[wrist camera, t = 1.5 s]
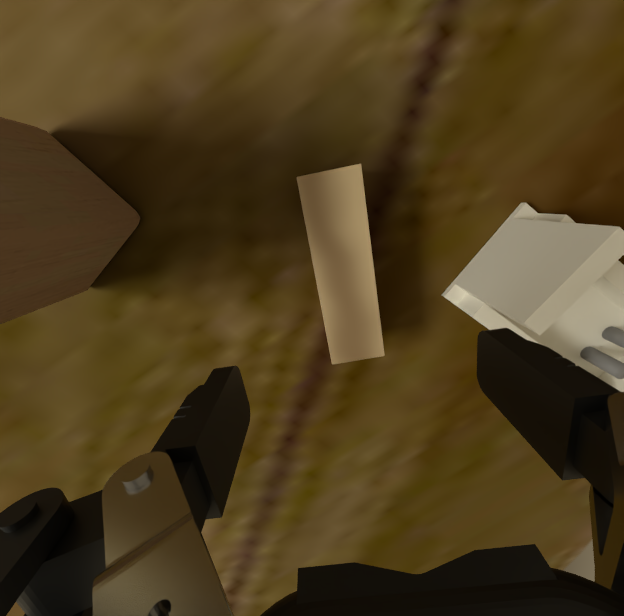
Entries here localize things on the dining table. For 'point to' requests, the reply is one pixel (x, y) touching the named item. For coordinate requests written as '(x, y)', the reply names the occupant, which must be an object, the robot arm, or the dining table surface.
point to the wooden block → (52, 221)
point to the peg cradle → (552, 288)
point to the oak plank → (343, 261)
